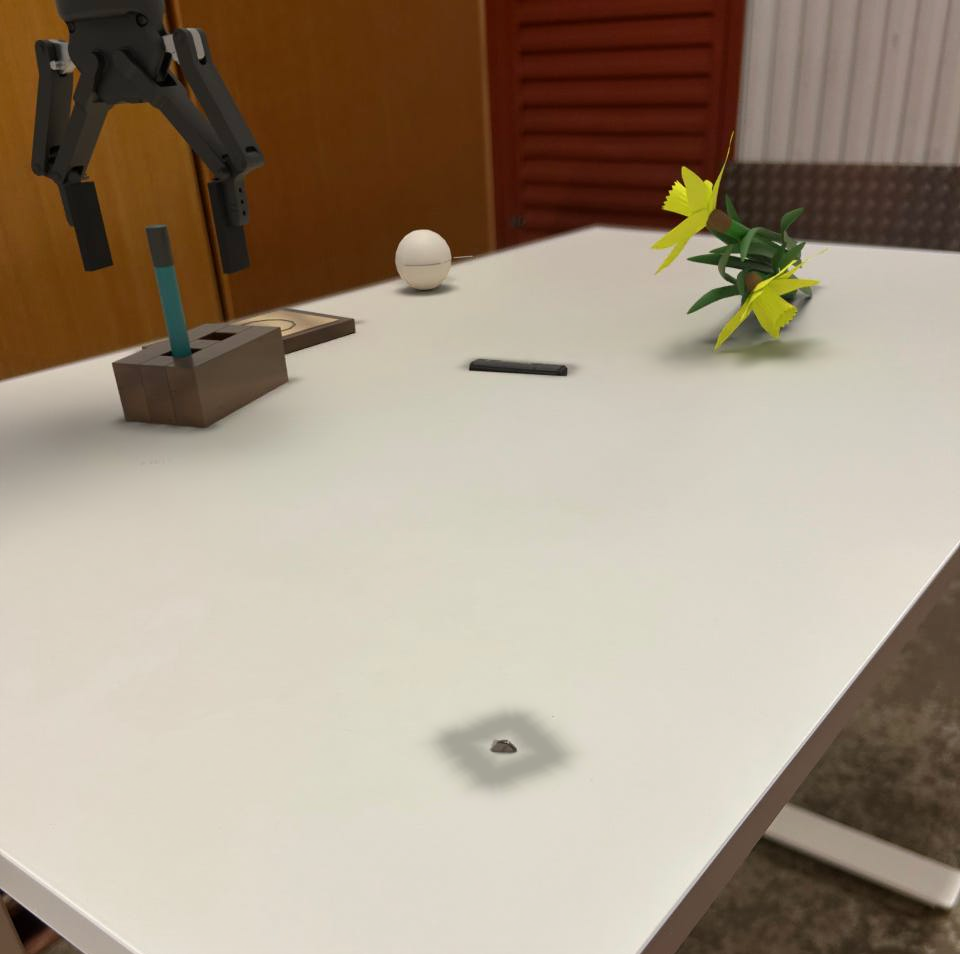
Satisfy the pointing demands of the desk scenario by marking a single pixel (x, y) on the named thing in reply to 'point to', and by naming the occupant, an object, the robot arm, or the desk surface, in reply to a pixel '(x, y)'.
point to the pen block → (201, 375)
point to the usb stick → (517, 367)
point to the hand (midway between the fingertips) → (166, 269)
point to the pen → (168, 289)
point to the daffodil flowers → (758, 271)
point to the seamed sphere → (423, 259)
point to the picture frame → (299, 327)
